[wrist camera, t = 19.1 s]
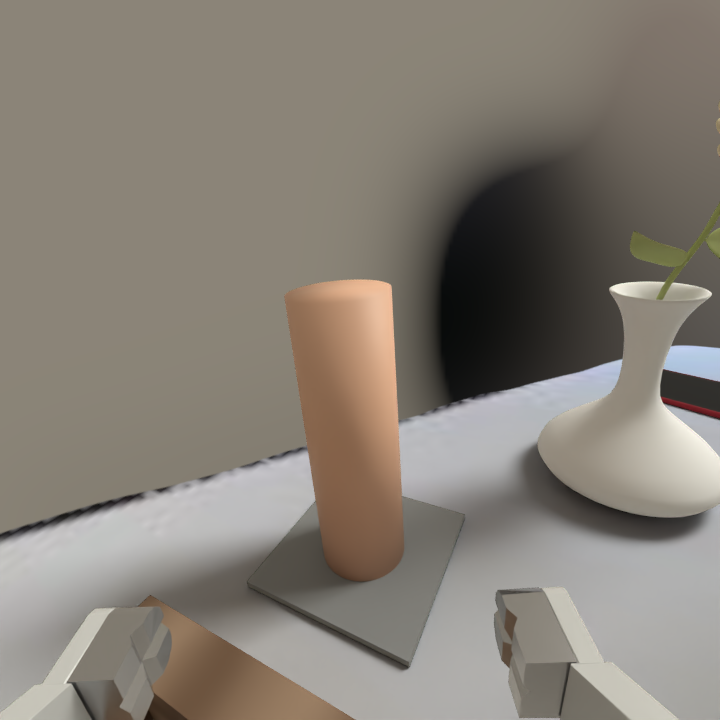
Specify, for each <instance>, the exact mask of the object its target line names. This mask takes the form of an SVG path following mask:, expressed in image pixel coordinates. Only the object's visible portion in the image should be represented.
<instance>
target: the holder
mask: <svg viewBox="0 0 720 720" xmlns="http://www.w3.org/2000/svg"><path fill="white" fill-rule="evenodd" d="M138 607H160V608H161V610H162V612H163V614H164V617H163V619H162V621H161V623H162V624H164V625H165V626H166V627H168V628H169V630H170V633H171V638H172V647H171V652H170V657H169V661H168V664H167V666H166V669H165V671H164V673H163V675H162V676H161V677H160V678H159V679H158V680H157V681H156V682H155V683H154V684H153V685H152V686H153V692H154V697H153V699H152V702H151V704H150V706H149V709H148V711H147V714H146V716H145V718H144V720H355V719H353V718H352V717H350V716H348V715H347V714H345V713H344V712H342V711H340V710H339V709H337V708H335V707H334V706H332V705H330V704H329V703H327V702H325V701H324V700H322V699H320V698H319V697H317V696H316V695H314V694H312V693H311V692H309V691H307V690H306V689H304V688H302V687H301V686H299V685H297V684H296V683H294V682H293V681H291V680H289V679H288V678H286V677H284V676H283V675H281V674H279V673H278V672H276V671H274V670H273V669H271V668H269V667H268V666H266V665H265V664H263V663H261V662H260V661H258V660H256V659H255V658H253V657H251V656H250V655H248V654H246V653H245V652H243V651H242V650H240V649H238V648H237V647H235V646H233V645H232V644H230V643H228V642H227V641H225V640H223V639H222V638H220V637H218V636H217V635H215V634H214V633H212V632H210V631H209V630H207V629H205V628H204V627H202V626H200V625H199V624H197V623H195V622H194V621H192V620H191V619H189V618H187V617H186V616H184V615H182V614H181V613H179V612H177V611H176V610H174V609H172V608H171V607H169V606H167V605H166V604H164V603H163V602H161V601H159V600H158V599H156V598H154V597H153V596H151V595H150V596H149V597H148V598H147V599H146V600H144V601H143V602H142V603H141V604H140V605H139V606H138Z"/></svg>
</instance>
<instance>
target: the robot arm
mask: <svg viewBox="0 0 720 720" xmlns="http://www.w3.org/2000/svg"><path fill="white" fill-rule="evenodd" d="M495 601H496V604H497V607H498V611H497V612H496V613H495V614H494V628H495V637H496V641H497V645H498V649H499V653H500V656H501V660H502V661H503V662H504V663H505V664H506V665H507V666H508V667H509V680H508V683H509V686H510V690H511V693H512V696H513V699H514V703H515V706H516V709H517V712H518V716H519V718H560V720H679V719H678V718H677V717H676V716H675V715H673V714H672V713H671V712H670V711H669V710H667V709H666V708H665V707H664V706H663V705H662V704H660V703H659V702H658V701H657V700H656V699H654V698H653V697H652V696H651V695H650V694H649V693H647V692H646V691H645V690H644V689H643V688H642V687H640V686H639V685H638V684H637V683H636V682H634V681H633V680H632V679H631V678H630V677H629V676H627V675H626V674H625V673H624V672H623V671H622V670H620V669H619V668H618V667H617V666H616V665H614V664H613V663H612V662H604V660H603V658H602V657H601V655H600V653H599V651H598V649H597V647H596V645H595V643H594V641H593V639H592V638H591V636H590V634H589V632H588V630H587V628H586V626H585V624H584V622H583V621H582V619H581V617H580V615H579V613H578V611H577V609H576V607H575V605H574V604H573V602H572V600H571V598H570V596H569V594H568V592H567V591H566V590H565V589H564V588H563V587H550V588H539V587H537V588H522V589H506V590H498V591H497V592H496V599H495ZM163 617H164V614H163V612H162V610H161V608H160V607H122V608H118V607H116V608H96V609H95V610H93V611H92V612H91V613H90V614H89V615H88V616H87V617H86V619H85V620H84V622H83V623H82V625H81V626H80V628H79V629H78V631H77V632H76V634H75V635H74V637H73V638H72V640H71V641H70V643H69V644H68V646H67V647H66V649H65V650H64V651H63V653H62V654H61V656H60V657H59V659H58V660H57V662H56V663H55V665H54V666H53V668H52V669H51V671H50V672H49V674H48V675H47V677H46V678H45V680H44V681H43V683H42V684H38V685H34V686H33V687H32V688H30V689H29V690H28V691H27V692H25V693H24V694H23V695H22V696H21V697H19V698H18V699H17V700H16V701H14V702H13V703H12V704H11V705H9V706H8V707H7V708H6V709H4V710H3V711H2V712H1V713H0V720H144V718H145V716H146V714H147V711H148V709H149V706H150V704H151V702H152V699H153V697H154V692H153V686H152V685H153V684H154V683H155V682H156V681H157V680H158V679H159V678H160V677H161V676H162V675H163V673H164V671H165V669H166V666H167V664H168V661H169V657H170V652H171V647H172V638H171V633H170V630H169V628H168V627H166V626H165V625H164V624H162V623H161V621H162V619H163Z"/></svg>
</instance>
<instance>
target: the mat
mask: <svg viewBox="0 0 720 720" xmlns="http://www.w3.org/2000/svg"><path fill="white" fill-rule="evenodd" d="M402 508H403V528H404V553H403V556H402V559H401V561H400V562H399V564H398V565H397V566H396V568H395V569H393V570H392V571H391V572H390V573H388V574H387V575H385V576H383V577H381V578H379V579H376V580H372V581H363V582H359V581H352V580H348V579H345V578H343V577H341V576H339V575H337V574H336V573H335V572H333V571H332V570H331V568H330V567H329V566H328V564H327V562H326V560H325V557H324V551H323V545H322V538H321V532H320V525H319V518H318V512H317V505H316V501H315V502H314V504H313V505H312V506H311V507H310V508H309V509H308V511H307V512H306V513H305V514H304V515H303V516H302V518H301V519H300V520H299V521H298V522H297V523H296V525H295V526H294V527H293V528H292V529H291V530H290V532H289V533H288V534H287V535H286V536H285V537H284V539H283V540H282V541H281V542H280V543H279V544H278V546H277V547H276V548H275V549H274V550H273V551H272V553H271V554H270V555H269V556H268V557H267V558H266V560H265V561H264V562H263V563H262V564H261V566H260V567H259V568H258V569H257V570H256V571H255V573H254V574H253V575H252V576H251V577H250V578H249V580H248V581H247V584H248V587H250V588H252V589H254V590H256V591H258V592H260V593H262V594H264V595H266V596H268V597H270V598H272V599H274V600H276V601H278V602H280V603H282V604H284V605H286V606H288V607H290V608H292V609H294V610H296V611H298V612H300V613H302V614H304V615H306V616H308V617H310V618H312V619H314V620H316V621H318V622H320V623H322V624H324V625H326V626H328V627H330V628H332V629H334V630H336V631H338V632H340V633H342V634H344V635H346V636H348V637H350V638H352V639H354V640H356V641H358V642H360V643H362V644H364V645H366V646H368V647H370V648H372V649H374V650H376V651H378V652H380V653H382V654H384V655H386V656H388V657H390V658H392V659H394V660H396V661H397V662H399V663H401V664H403V665H405V666H407V667H410V665H411V662H412V659H413V657H414V654H415V651H416V649H417V646H418V643H419V640H420V638H421V635H422V632H423V630H424V627H425V624H426V622H427V619H428V616H429V613H430V611H431V608H432V605H433V603H434V600H435V597H436V595H437V592H438V589H439V586H440V584H441V581H442V578H443V576H444V573H445V570H446V568H447V565H448V562H449V559H450V557H451V554H452V551H453V549H454V546H455V543H456V541H457V538H458V535H459V532H460V530H461V527H462V524H463V522H464V518H465V514H461V513H458V512H455V511H451V510H448V509H444V508H441V507H437V506H434V505H431V504H427V503H424V502H420V501H417V500H413V499H410V498H406V497H403V496H402Z"/></svg>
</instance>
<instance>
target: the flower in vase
mask: <svg viewBox="0 0 720 720" xmlns="http://www.w3.org/2000/svg"><path fill="white" fill-rule="evenodd" d="M718 107H719V111H720V101H719V105H718ZM716 127H717V130H718V132H719V134H720V118H719V119H718V120H717V122H716ZM717 152H718V155H719V157H720V145H719V146H718V147H717ZM719 216H720V203H719V204H718V206H717V208H716V209H715V211H714V213H713V215H712V217H711V218H710V220H709V222H708V224H707V226H706V227H705V229H704V230H703V232H702V233H701V235H700V236H699V238H698V239H697V240H696V242H695V243H694V244H693V246H692V247H691V248H690V250H689V251H688V252H687V253H686V252H685V251H683V250H681V249H678V248H674V247H671V246H667V245H664V244H661V243H658V242H655V241H653V240H651V239H649V238H647V237H645V236H643V235H641V234H640V233H638V232H636V231H634V232H633V235H632V238H631V243H630V250H631V253H632V254H633V255H634V256H635V257H636V258H638V259H641V260H645V261H649V262H653V263H657V264H660V265H664V266H670V267H675V269H674V270H673V272H672V273H671V274H670V276H669V277H668V279H667V280H666V282H632V283H623V284H617V285H614V286H612V287H610V289H609V290H610V293H611V294H612V296H613V297H614V299H615V300H616V302H617V304H618V306H619V308H620V311H621V314H622V318H623V323H624V353H623V361H622V367H621V372H620V376H619V379H618V382H617V384H616V386H615V388H614V389H613V390H612V392H611V393H610V394H608V395H607V396H605V397H604V398H601V399H599V400H596V401H593V402H590V403H587V404H584V405H581V406H579V407H576V408H573V409H570V410H568V411H566V412H564V413H562V414H560V415H559V416H557V417H555V418H553V419H552V420H551V421H549V422H548V423H547V424H546V426H545V427H544V429H543V430H542V432H541V433H540V435H539V438H538V450H539V453H540V455H541V457H542V459H543V461H544V462H545V464H546V465H547V467H548V468H549V469H550V470H551V472H552V473H553V474H554V475H555V476H556V477H557V478H558V479H559V480H560V481H562V482H563V483H564V484H565V485H567V486H568V487H570V488H571V489H573V490H574V491H576V492H578V493H580V494H581V495H583V496H585V497H587V498H589V499H591V500H593V501H595V502H598V503H600V504H603V505H606V506H608V507H611V508H614V509H618V510H621V511H625V512H629V513H633V514H639V515H644V516H652V517H670V518H674V517H685V516H690V515H695V514H698V513H701V512H704V511H706V510H709V509H711V508H713V507H715V506H717V505H718V504H720V458H719V456H718V455H717V454H716V453H715V452H714V450H713V449H712V448H711V447H710V446H709V445H708V444H707V443H706V442H705V441H704V440H703V439H702V438H701V437H700V436H699V435H698V434H696V433H695V432H694V431H693V430H692V429H691V428H689V427H688V426H687V425H686V424H684V423H683V422H682V421H681V420H679V419H678V418H677V417H675V416H674V415H673V414H672V413H671V412H670V411H669V410H668V409H667V408H666V407H665V405H664V404H663V402H662V399H661V397H660V383H661V377H662V371H663V368H664V364H665V361H666V357H667V354H668V352H669V349H670V347H671V344H672V341H673V339H674V337H675V335H676V334H677V332H678V330H679V328H680V326H681V325H682V324H683V322H684V321H685V320H686V318H687V317H688V316H689V315H690V313H691V312H693V311H694V310H695V309H696V308H697V307H698V306H699V305H700V304H702V303H703V302H704V301H706V300H707V299H708V298H710V296H711V295H712V294H711V292H710V291H708V290H706V289H704V288H700V287H696V286H692V285H686V284H679V283H673V281H674V279H675V278H676V277H677V275H678V274H679V273H680V271H681V270H682V269H683V267H684V266H685V265H686V263H687V262H688V261H689V260H690V258H691V257H692V256H693V254H694V253H695V252H696V251H697V249H698V248H699V247H700V245H701V244H702V243H703V241H706V242H707V245H708V247H709V248H710V250H711V251H712V252H713V253H714V254H715V255H716V256H717V257H718V258H719V259H720V228H719V229H717V230H715V231H714V232H712V233H711V234H710V235H709V236H708V234H709V233H710V231H711V229H712V228H713V226H714V224H715V223H716V221H717V219H718V217H719ZM707 236H708V237H707ZM706 237H707V239H705V238H706Z"/></svg>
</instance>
